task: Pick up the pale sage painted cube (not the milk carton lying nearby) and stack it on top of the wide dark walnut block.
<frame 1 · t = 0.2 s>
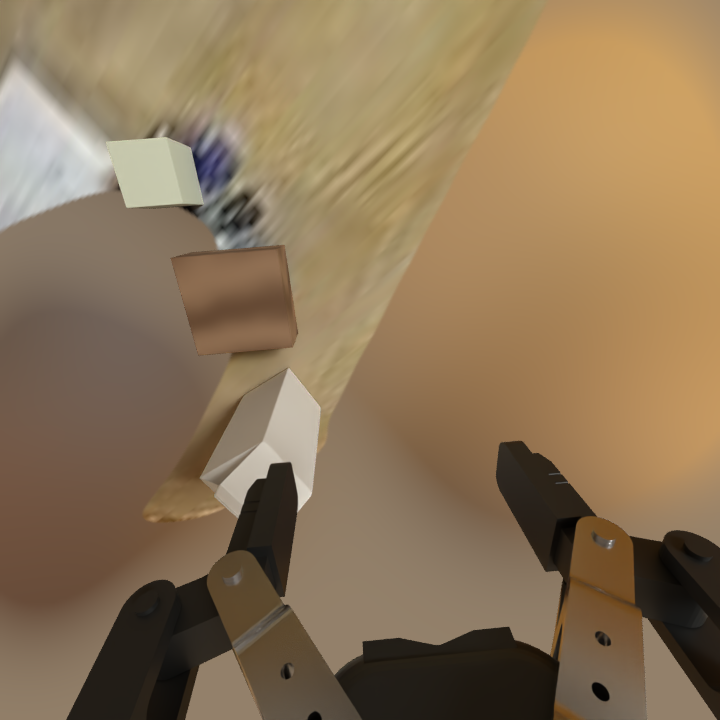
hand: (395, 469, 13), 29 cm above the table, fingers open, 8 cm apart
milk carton: (283, 400, 44), on the table
walnut block: (247, 294, 39), on the table
sage cube: (172, 178, 34), on the table
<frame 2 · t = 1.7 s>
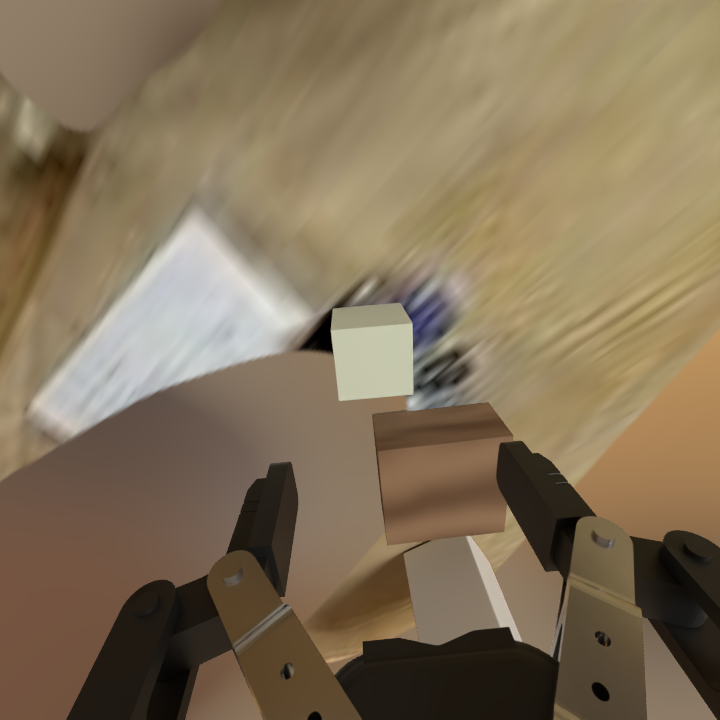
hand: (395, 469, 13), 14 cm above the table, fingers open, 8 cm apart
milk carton: (446, 555, 37), on the table
walnut block: (430, 453, 32), on the table
sage cube: (368, 336, 26), on the table
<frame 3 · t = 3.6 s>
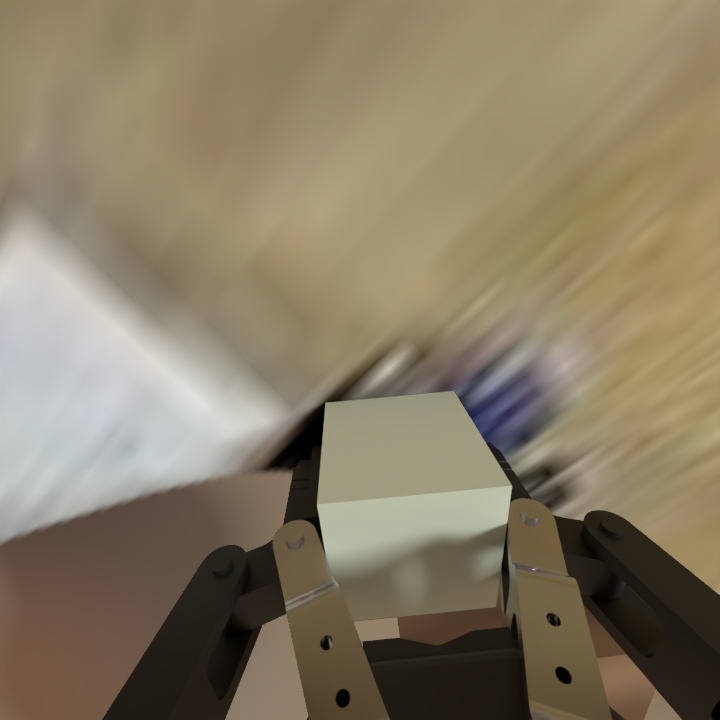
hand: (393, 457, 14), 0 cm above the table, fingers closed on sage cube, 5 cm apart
walnut block: (486, 606, 19), on the table
sage cube: (392, 448, 14), on the table, touching gripper
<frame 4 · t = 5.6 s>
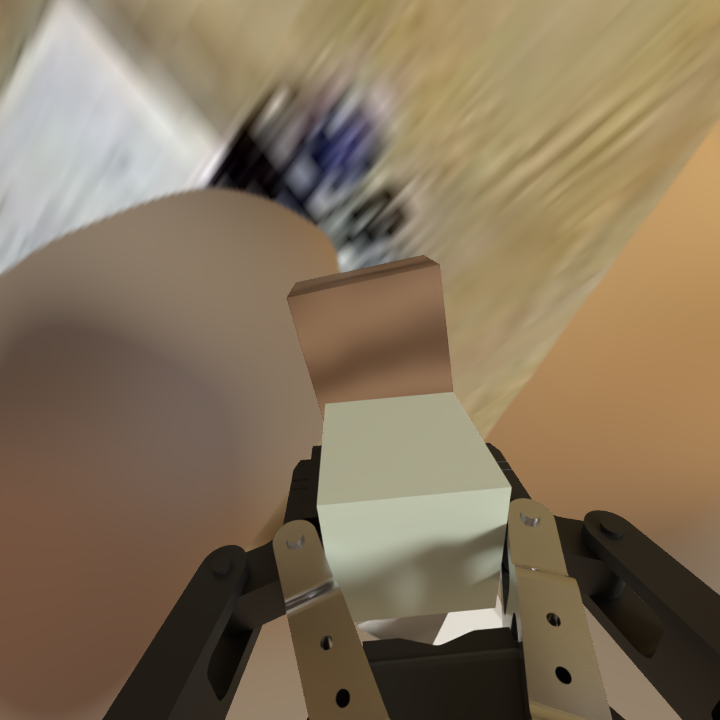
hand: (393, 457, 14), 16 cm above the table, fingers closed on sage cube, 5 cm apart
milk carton: (399, 459, 34), on the table
walnut block: (371, 328, 29), on the table
sage cube: (392, 449, 14), point 15 cm above the table, touching gripper
when the fingers open (7 cm above the table, at t = 7.6 s): sage cube drops 2 cm, resting on walnut block.
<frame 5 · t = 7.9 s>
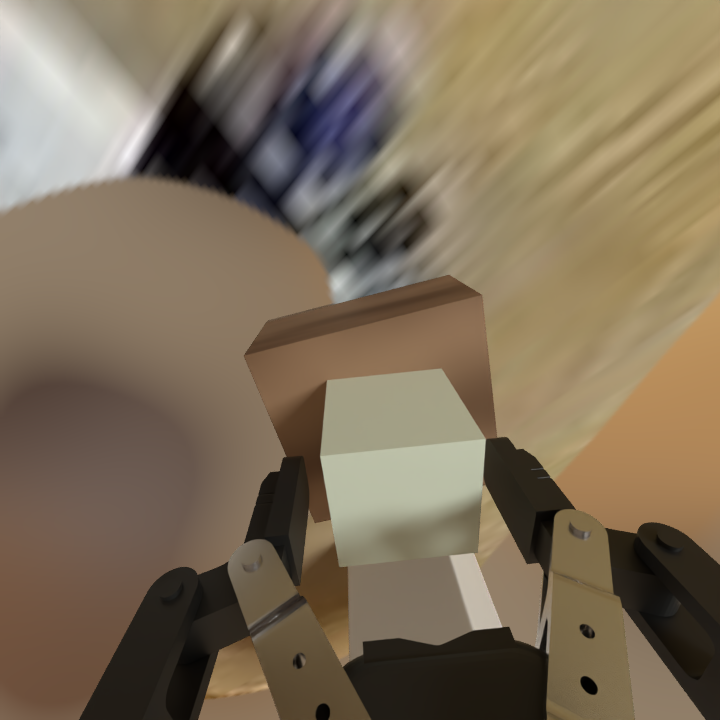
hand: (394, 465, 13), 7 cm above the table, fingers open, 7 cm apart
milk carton: (410, 540, 26), on the table
walnut block: (376, 377, 20), on the table, touching sage cube
sage cube: (387, 422, 16), point 5 cm above the table, touching walnut block
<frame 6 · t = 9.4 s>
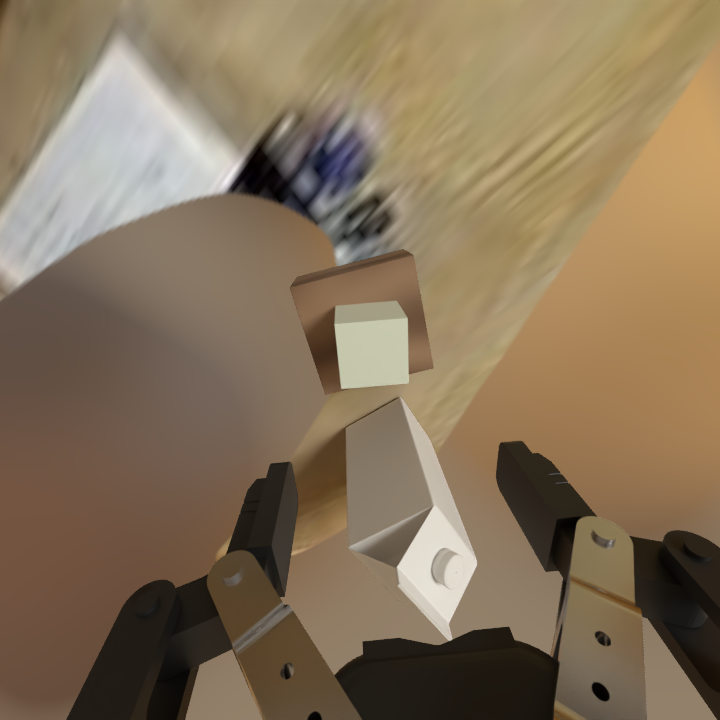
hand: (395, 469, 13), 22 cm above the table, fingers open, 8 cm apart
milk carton: (388, 432, 39), on the table
walnut block: (362, 314, 33), on the table, touching sage cube
sage cube: (368, 332, 29), point 5 cm above the table, touching walnut block
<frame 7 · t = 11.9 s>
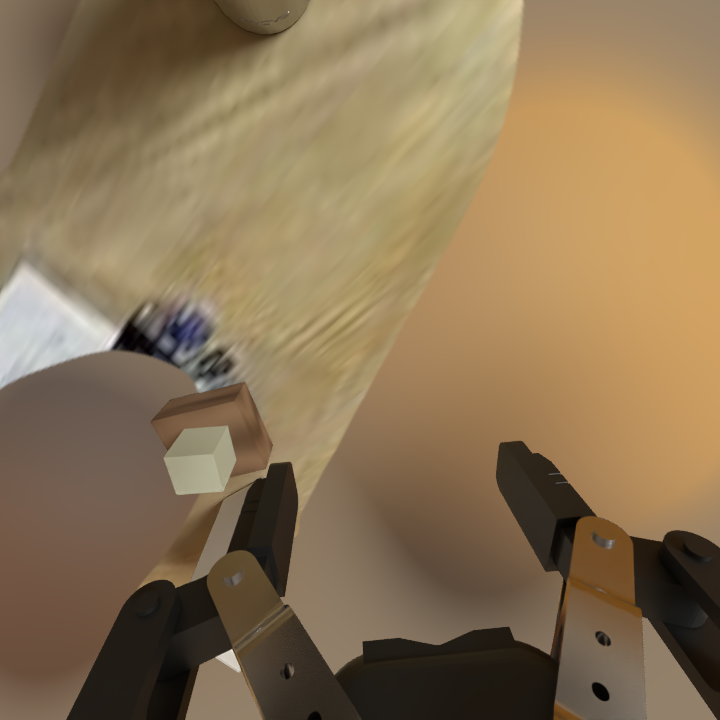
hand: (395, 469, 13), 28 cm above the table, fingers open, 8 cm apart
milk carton: (259, 501, 51), on the table
walnut block: (223, 422, 45), on the table, touching sage cube
sage cube: (210, 445, 40), point 5 cm above the table, touching walnut block
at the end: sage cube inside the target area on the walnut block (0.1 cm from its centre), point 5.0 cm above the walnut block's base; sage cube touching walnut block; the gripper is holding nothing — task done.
